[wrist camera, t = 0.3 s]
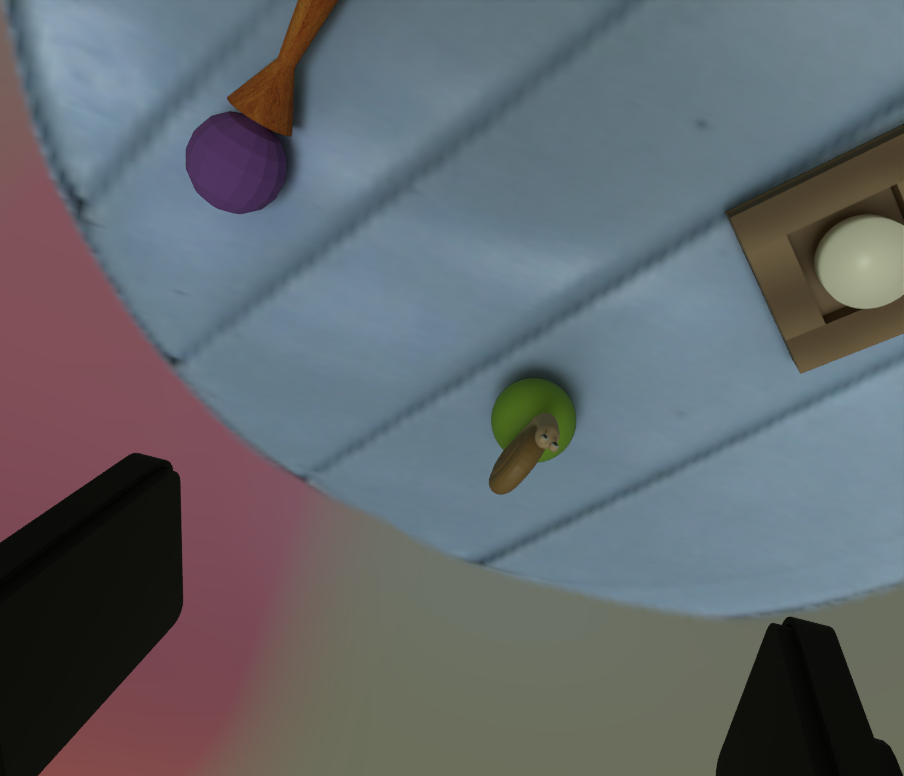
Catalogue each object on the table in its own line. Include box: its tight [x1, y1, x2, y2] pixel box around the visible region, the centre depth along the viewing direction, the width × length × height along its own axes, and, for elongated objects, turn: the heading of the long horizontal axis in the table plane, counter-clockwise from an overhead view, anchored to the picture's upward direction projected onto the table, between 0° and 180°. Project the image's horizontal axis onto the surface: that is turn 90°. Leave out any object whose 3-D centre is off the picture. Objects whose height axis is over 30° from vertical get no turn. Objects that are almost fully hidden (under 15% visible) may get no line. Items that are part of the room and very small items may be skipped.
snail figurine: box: [489, 378, 576, 494], centre depth 43 cm, size 5×6×12 cm
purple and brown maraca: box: [186, 0, 338, 214], centre depth 42 cm, size 6×6×20 cm
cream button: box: [814, 214, 904, 309], centre depth 38 cm, size 5×5×2 cm
